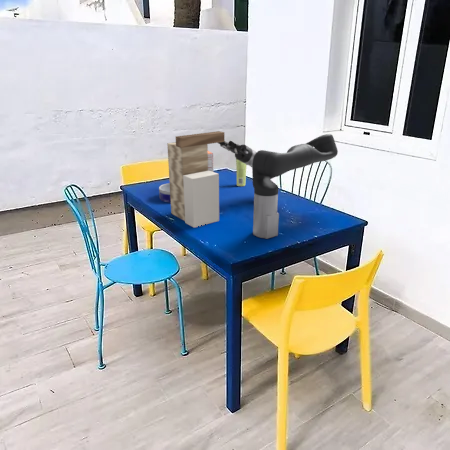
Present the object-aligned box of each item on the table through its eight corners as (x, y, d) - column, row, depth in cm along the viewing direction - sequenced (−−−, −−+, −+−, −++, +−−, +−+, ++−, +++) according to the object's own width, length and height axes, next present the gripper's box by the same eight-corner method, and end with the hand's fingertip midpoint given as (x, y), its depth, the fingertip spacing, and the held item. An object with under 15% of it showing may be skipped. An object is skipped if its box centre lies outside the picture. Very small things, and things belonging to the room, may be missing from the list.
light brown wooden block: (224, 141, 170) (224, 132, 168) (181, 147, 157) (180, 137, 156) (219, 140, 173) (218, 131, 171) (176, 146, 160) (175, 136, 159)
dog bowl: (193, 200, 196) (193, 189, 194) (163, 204, 191) (162, 192, 189) (184, 192, 209) (184, 181, 207) (156, 195, 204) (155, 184, 202)
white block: (219, 220, 170) (218, 173, 162) (194, 227, 163) (192, 179, 155) (209, 216, 176) (209, 170, 168) (185, 222, 168) (183, 175, 160)
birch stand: (208, 214, 177) (207, 144, 165) (185, 221, 170) (182, 147, 158) (194, 207, 186) (192, 140, 174) (171, 213, 179) (167, 143, 167)
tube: (239, 183, 224) (239, 149, 216) (247, 184, 221) (248, 150, 214) (235, 186, 219) (235, 151, 212) (243, 187, 217) (243, 152, 209)
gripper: (253, 165, 179) (229, 151, 168) (234, 160, 189) (210, 146, 178) (260, 150, 178) (236, 135, 167) (240, 145, 189) (217, 131, 178)
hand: (223, 141), depth 173 cm, fingers open, 8 cm apart
